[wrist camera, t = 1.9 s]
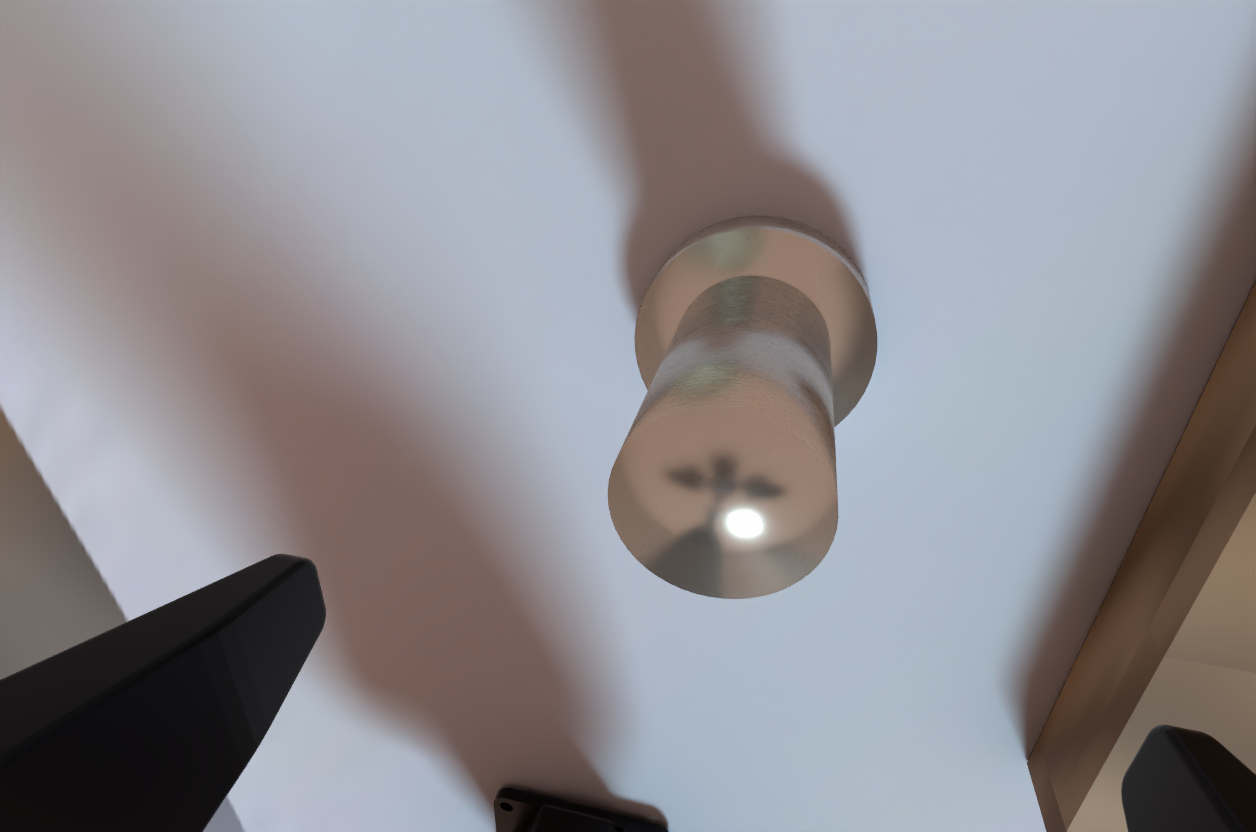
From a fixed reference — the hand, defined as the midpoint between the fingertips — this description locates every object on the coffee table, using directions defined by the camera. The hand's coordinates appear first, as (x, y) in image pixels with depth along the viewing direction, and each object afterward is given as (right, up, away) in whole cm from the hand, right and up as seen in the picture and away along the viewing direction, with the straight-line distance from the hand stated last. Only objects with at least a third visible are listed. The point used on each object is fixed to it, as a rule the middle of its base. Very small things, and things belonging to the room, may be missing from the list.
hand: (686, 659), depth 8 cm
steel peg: (+2, +5, +8) cm, 10 cm away
